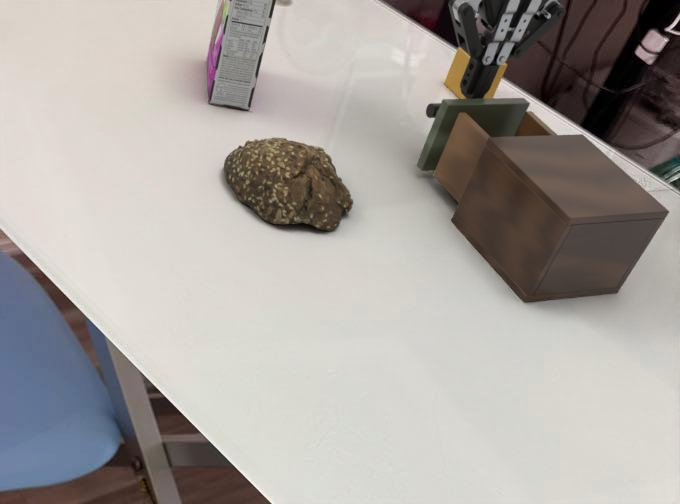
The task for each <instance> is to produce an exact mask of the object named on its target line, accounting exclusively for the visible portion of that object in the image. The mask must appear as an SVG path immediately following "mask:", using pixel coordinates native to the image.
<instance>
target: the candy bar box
mask: <svg viewBox="0 0 680 504" xmlns="http://www.w3.org/2000/svg"><path fill="white" fill-rule="evenodd" d="M276 2H277V0H217V5H216V9H215V15H214V19H213V26H212V30H211V36H210V41H209V44H208V45H209V46H208V51H207V55H206V70H207V92H208V104H211V105H214V106H218V107H225V108H231V109H239V110H245V111H250V110H251V107H252V102H253V97H254V94H255V90H256V85H257V81H258V77H259V73H260V68H261V64H262V61H263V56H264V52H265V48H266V44H267V39H268V35H269V31H270V27H271V23H272V19H273V15H274V11H275V10H274V9H275V6H276Z"/></svg>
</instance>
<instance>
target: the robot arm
mask: <svg viewBox="0 0 680 504" xmlns="http://www.w3.org/2000/svg"><path fill="white" fill-rule="evenodd" d="M447 4H448V8H449V9H448V10H449V13H450V17H451V22H452V25H453V29H454V33H455V38H456V41H457V46H458V47H460V48H461V49H462V50H463V51H465V52H466V53H467V54H468V55H469V56H470V60H469V62H468V65H467V67H466V70H465V72H464V75H463V78H462V80H461V82H460V88H461V93H462V94H463V95H464V96H465V97H466V98H467V99H483V98H484V96H485V94H487V92H488V91H489V90H490V88H491V85H492V83H493V81H494V78H495V76H496V74H497V71H498V69H499V67H500V65H502V64H504V63H506V62H507V61H508V60H509V59H511V58H513V59H515V60H516V59H518V60H519V59H520V58H522V57H523V56H524V54H526V53H527V52H528V51H529V50H530V49H531V48H532V47H533V46H534V45H535V44H537V42H538V41H540V40H541V39H542V38H543V37H544V36H545V35H546V34H547V33H548V32H549V31H550V30H552V28H553V27H554V26H556V24H558V23H559V22H560V21H561V20H562V19H563V18H564V17H565V15H566V13H567V9H566V7H565V6H564V5H562V4H561V3H560V2H559V1H558V0H448V3H447ZM524 35H525V36H524ZM523 36H524V37H523Z"/></svg>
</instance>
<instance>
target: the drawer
mask: <svg viewBox="0 0 680 504" xmlns="http://www.w3.org/2000/svg"><path fill="white" fill-rule="evenodd" d="M530 105H531V103H530V102H529V101H528V100H527V99H526V98H525V97H499V98H498V97H496V98H495V97H493V98H488V99H460V98H443V99H441V102H437V103H436V102H435V103H434V102H431V103H428V105H427V106H426V108H425V116H426V117H427V118H428V119H434V120H433V122H432V124H431V126H430V129H429V132H428V134H427V137H426V139H425V141H424V145H423V147H422V149H421V151H420V155H419V157H418V159H417V162H416V164H415V165H416V167H417V168H418V169H419V170H420V171H421V172H433V173H432V176H433V177H434V178H435V179H436V180H437V182H439V183H440V184H441V186H442V187H443V188H444V189H445V190H446V191H447V192H448V193H449V194H450V195H451V197H452V198H453V199H454V200H455V201H456V202H457V203H458V204H459V201H460V199H461V197H462V195H463V192H464V190H465V188H466V186H467V184H468V181H469V179H470V177H471V175H472V173H473V170H474V168H475V166H476V164H477V162H478V159H479V157H480V155H481V153H482V150H483V148H484V146H485V145H486V142H487V139H488V138H489V137H516V136H547V135H558V134H557V132H555V131H554V130H553V129H552V128H551V127H550V126H549V125H548V124H547V123H545V122H544V121H543V120H542V119H541V118H540V117H538V115H536V114H535V113H534V111H532V110H528V109H529V107H530Z"/></svg>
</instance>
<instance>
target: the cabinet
mask: <svg viewBox="0 0 680 504" xmlns="http://www.w3.org/2000/svg"><path fill="white" fill-rule="evenodd" d="M669 213H670V210H669V209H667V208H666V207H665V206H664V205H663V204H661V202H660V201H658V200H657V198H655V197H654V196H653V195H652V194H651V193H650V192H648V191H647V190H646V189H645V188H644V187H642V185H640V184H639V183H638V182H637V181H636V180H635V179H634V178H632V177H631V176H630V174H628V173H627V172H626V171H624V169H622V168H621V167H620V166H619V165H618V164H616V163H615V161H614V160H612V159H611V158H610V157H609V156H607V154H606V153H604V152H603V151H602V150H601V149H600V148H599V147H598V146H597V145H596V144H594V143H593V142H592V141H591V140H590V139H589V138H588V137H586V136H585V135H584V134H582V133H581V134H579V133H578V134H557V135H547V136H516V137H489V138H488V139H487V142H486V145H485V146H484V148H483V150H482V153H481V155H480V157H479V159H478V162H477V164H476V166H475V168H474V170H473V173H472V175H471V177H470V179H469V181H468V184H467V186H466V188H465V190H464V192H463V195H462V197H461V199H460V201H459V203H458V204H457V206H456V208H455V210H454V213H453V215H452V217H451V219H450V221H451V223H452V224H454V226H455V227H456V228H457V229H458V231H460V232H461V233H462V235H463V236H464V237H465V238H466V239H467V240H468V242H469V243H471V245H472V246H473V248H475V250H476V251H478V252H479V253H480V255H481V256H482V257H483V258H484V259H485V260H486V261H487V263H489V265H490V266H491V267H492V268H493V269H494V271H496V273H498V275H499V276H500V277H501V278H502V279H503V281H504V282H505V283H506V284H507V285H508V286H509V287H510V288H511V290H513V292H514V293H515V294H516V295H517V296H518V298H520V299H521V300H522V302H523V303H530V302H539V301H540V302H541V301H549V300H559V299H569V298H570V299H571V298H579V297H589V296H599V295H609V294H617V293H619V292H620V290H621V289H622V287H623V285H624V284H625V283H626V281H627V279H628V278H629V276H630V275H631V272H632V271H633V270H634V268H635V267H636V265H637V263H638V262H639V260H640V259H641V257H642V256H643V254H644V253H645V251H646V250H647V248H648V246H649V245H650V244H651V242H652V240H653V238H654V237H655V236H656V234H657V232H658V231H659V229H660V228H661V226H662V225H663V223H664V221H665V220H666V218H667V217H668V215H669Z"/></svg>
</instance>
